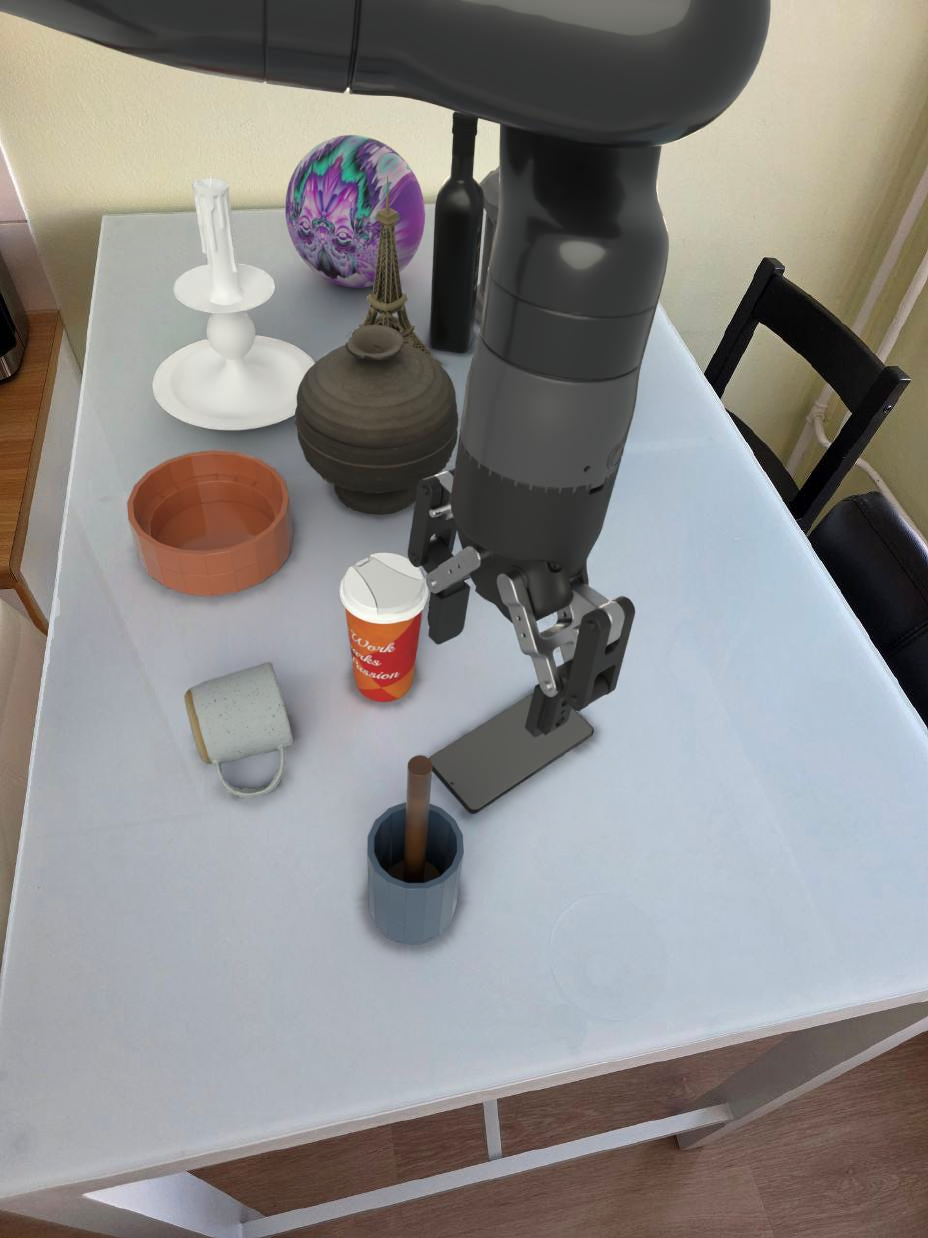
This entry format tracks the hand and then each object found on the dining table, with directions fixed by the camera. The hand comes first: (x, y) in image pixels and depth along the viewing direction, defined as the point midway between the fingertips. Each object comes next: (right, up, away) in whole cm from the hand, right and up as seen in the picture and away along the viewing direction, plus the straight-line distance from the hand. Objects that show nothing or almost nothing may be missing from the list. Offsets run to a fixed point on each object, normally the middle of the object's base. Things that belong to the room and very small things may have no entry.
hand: (491, 680), depth 52 cm
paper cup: (-9, -3, +36) cm, 38 cm away
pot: (-12, +19, +55) cm, 60 cm away
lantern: (+8, +50, +84) cm, 98 cm away
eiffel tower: (-12, +38, +72) cm, 82 cm away
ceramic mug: (-21, -8, +30) cm, 38 cm away
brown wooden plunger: (-6, -19, +21) cm, 29 cm away
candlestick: (-31, +33, +66) cm, 80 cm away
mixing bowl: (-28, +12, +47) cm, 56 cm away
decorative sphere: (-18, +55, +87) cm, 104 cm away
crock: (-6, -19, +22) cm, 30 cm away
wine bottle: (-3, +43, +77) cm, 88 cm away
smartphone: (+3, -9, +32) cm, 33 cm away
